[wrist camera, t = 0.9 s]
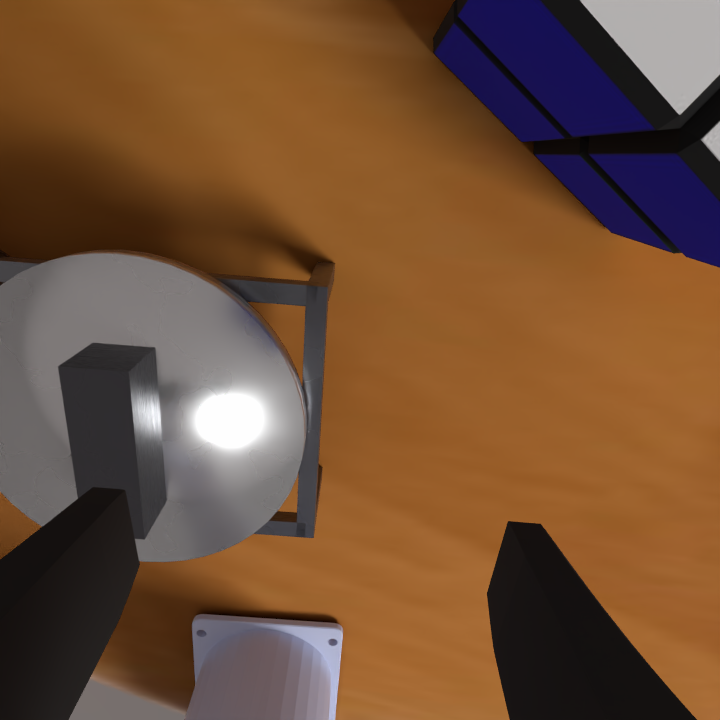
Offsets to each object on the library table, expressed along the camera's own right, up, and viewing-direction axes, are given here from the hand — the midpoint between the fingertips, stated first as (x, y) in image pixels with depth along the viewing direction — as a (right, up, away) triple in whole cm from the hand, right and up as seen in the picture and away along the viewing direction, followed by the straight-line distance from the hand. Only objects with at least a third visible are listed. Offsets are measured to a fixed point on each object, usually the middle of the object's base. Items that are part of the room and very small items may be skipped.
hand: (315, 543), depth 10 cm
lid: (-7, +2, +9) cm, 11 cm away
